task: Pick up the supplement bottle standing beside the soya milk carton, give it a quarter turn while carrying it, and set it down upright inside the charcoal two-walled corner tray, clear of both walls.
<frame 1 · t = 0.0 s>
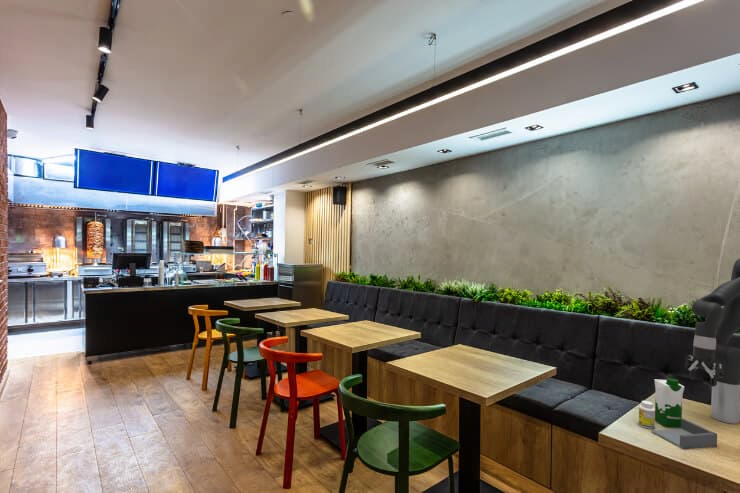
hand: (702, 382, 168), 17 cm above the table, tool pointing down, fingers open, 8 cm apart
corner arena: (683, 439, 152), on the table
soya milk: (667, 424, 165), on the table
supplement bottle: (646, 426, 162), on the table
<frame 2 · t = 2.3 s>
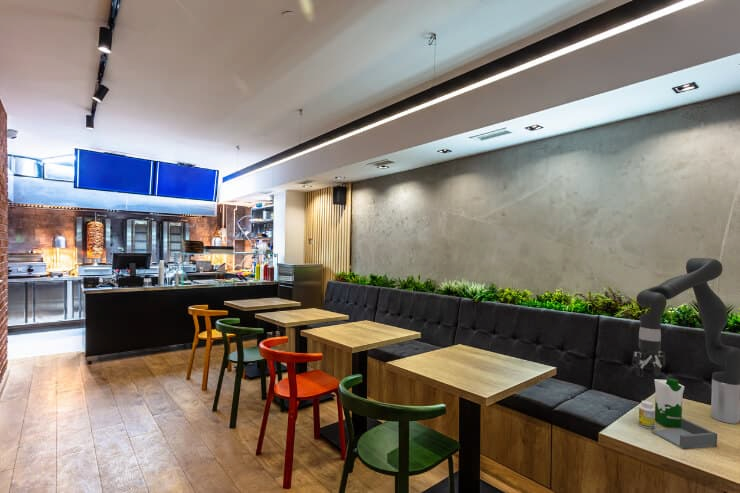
hand: (648, 376, 162), 22 cm above the table, tool pointing down, fingers open, 8 cm apart
nothing on the table moved.
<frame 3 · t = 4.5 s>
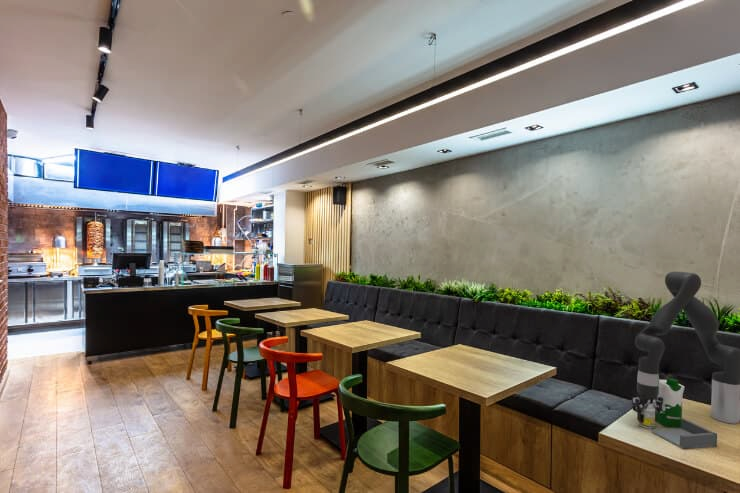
hand: (646, 421, 162), 2 cm above the table, tool pointing down, fingers closed on supplement bottle, 5 cm apart
supplement bottle: (646, 426, 162), on the table, touching gripper
everything else where it was.
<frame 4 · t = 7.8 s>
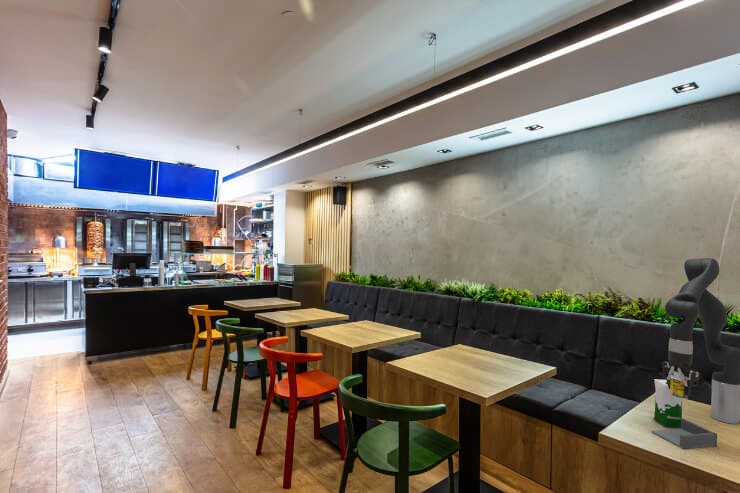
hand: (679, 392, 152), 19 cm above the table, tool pointing down, fingers closed on supplement bottle, 5 cm apart
supplement bottle: (678, 397, 152), point 16 cm above the table, touching gripper
everything else where it was.
when the fingers open (4 cm above the table, at t = 11.2 s): supplement bottle stays where it is, resting on corner arena.
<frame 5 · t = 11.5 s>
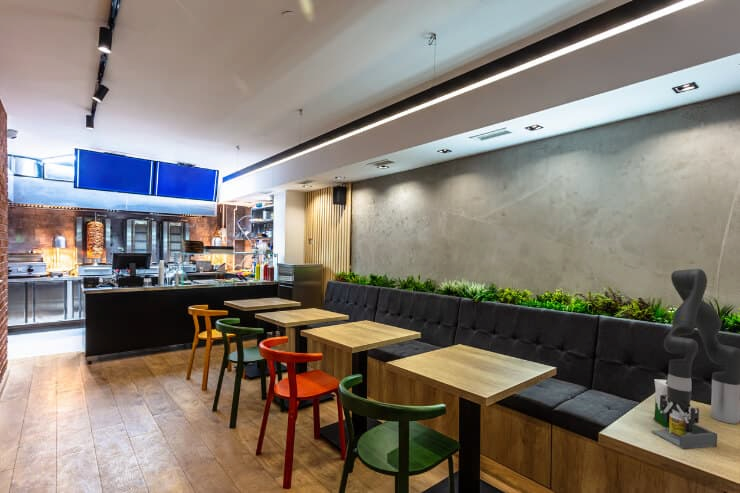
hand: (677, 427, 152), 4 cm above the table, tool pointing down, fingers open, 7 cm apart
supplement bottle: (677, 436, 152), point 1 cm above the table, touching corner arena
everything else where it was.
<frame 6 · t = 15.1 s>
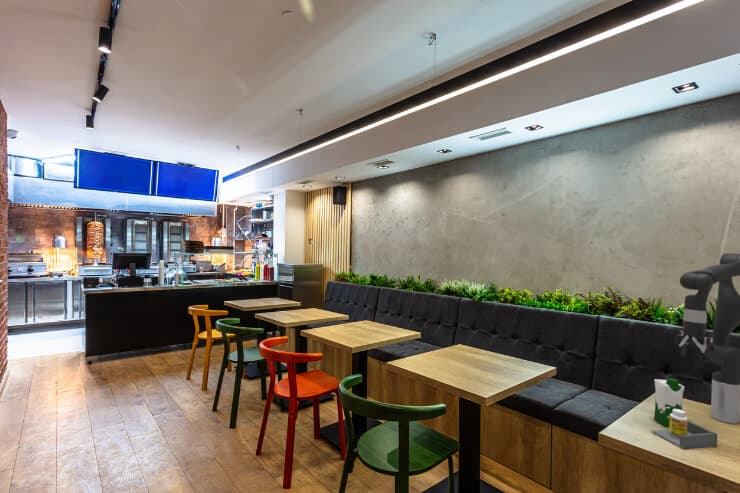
hand: (693, 358, 160), 30 cm above the table, tool pointing down, fingers open, 8 cm apart
nothing on the table moved.
at the end: supplement bottle inside the target area on the corner arena (0.3 cm from its centre), point 0.6 cm above the corner arena's base; supplement bottle tilted 0°; the gripper is holding nothing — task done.
